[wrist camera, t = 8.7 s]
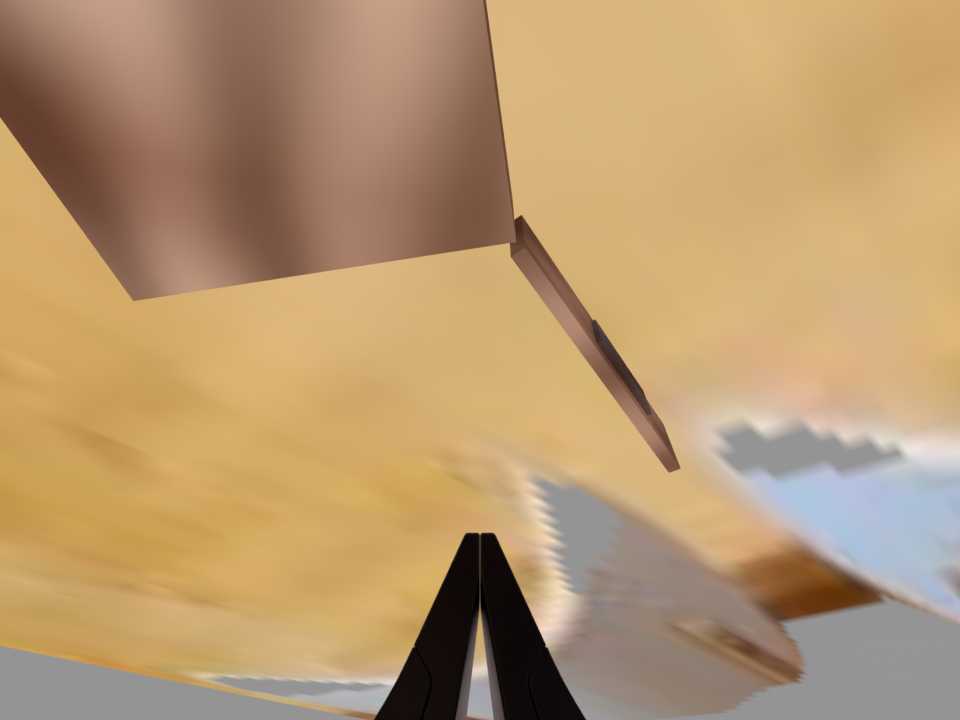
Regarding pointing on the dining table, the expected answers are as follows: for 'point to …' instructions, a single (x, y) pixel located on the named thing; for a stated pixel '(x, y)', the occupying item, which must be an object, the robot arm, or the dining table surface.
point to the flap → (590, 340)
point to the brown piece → (260, 132)
